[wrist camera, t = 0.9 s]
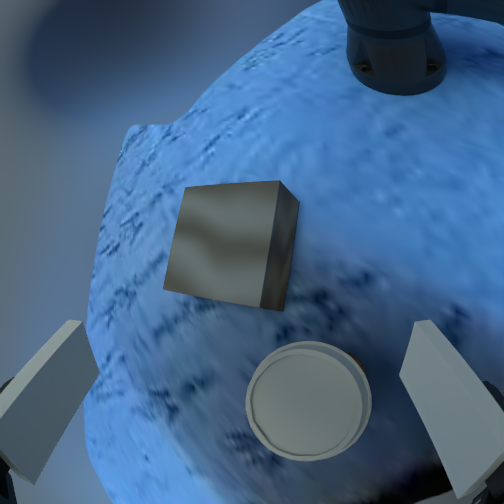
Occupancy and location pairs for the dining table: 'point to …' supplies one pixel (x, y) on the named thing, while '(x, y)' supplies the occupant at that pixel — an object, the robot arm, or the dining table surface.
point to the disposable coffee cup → (308, 401)
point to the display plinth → (234, 243)
